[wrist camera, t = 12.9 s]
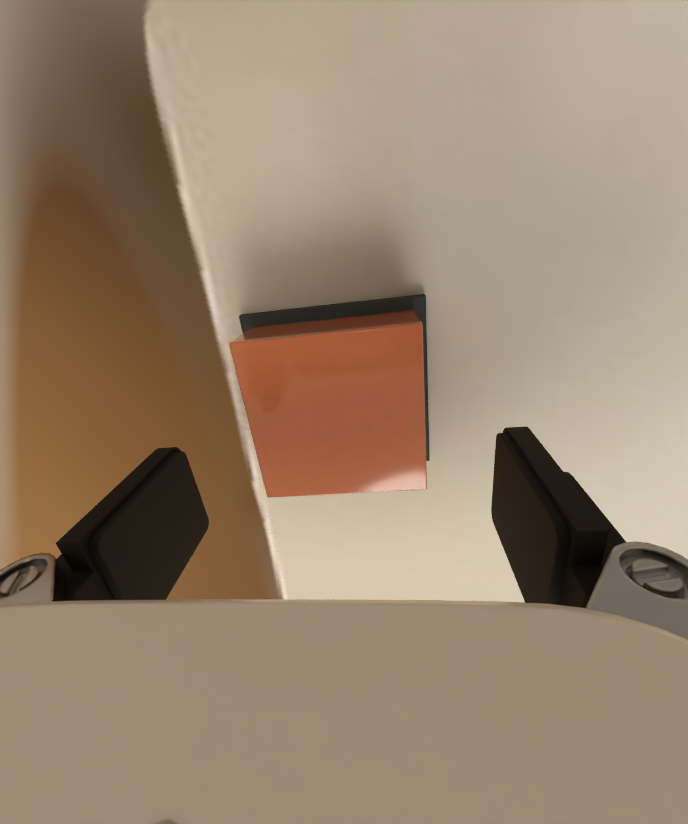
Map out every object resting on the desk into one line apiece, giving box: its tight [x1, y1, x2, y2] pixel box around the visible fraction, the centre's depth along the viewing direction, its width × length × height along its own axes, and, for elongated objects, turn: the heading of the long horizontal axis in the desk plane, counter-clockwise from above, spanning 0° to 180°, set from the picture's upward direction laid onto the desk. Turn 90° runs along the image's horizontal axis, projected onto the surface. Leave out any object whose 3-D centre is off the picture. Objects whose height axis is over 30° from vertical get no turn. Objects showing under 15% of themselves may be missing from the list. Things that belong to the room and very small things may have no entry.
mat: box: [239, 294, 429, 461], centre depth 18 cm, size 8×8×1 cm
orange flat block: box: [229, 310, 427, 497], centre depth 16 cm, size 7×7×3 cm
